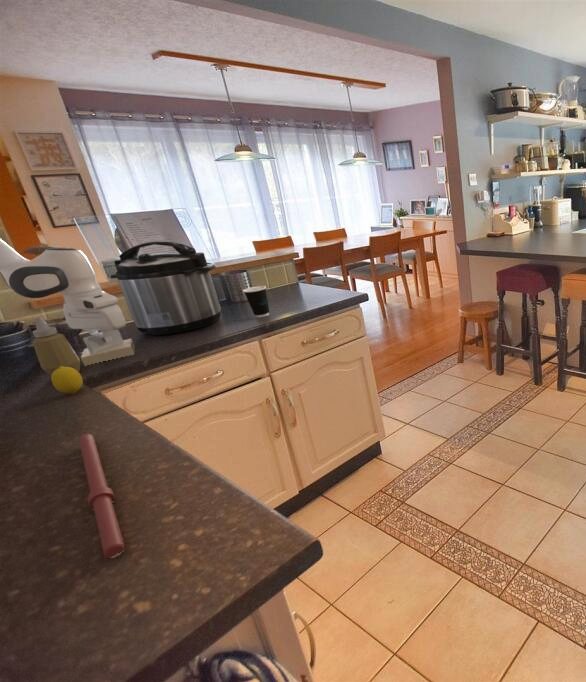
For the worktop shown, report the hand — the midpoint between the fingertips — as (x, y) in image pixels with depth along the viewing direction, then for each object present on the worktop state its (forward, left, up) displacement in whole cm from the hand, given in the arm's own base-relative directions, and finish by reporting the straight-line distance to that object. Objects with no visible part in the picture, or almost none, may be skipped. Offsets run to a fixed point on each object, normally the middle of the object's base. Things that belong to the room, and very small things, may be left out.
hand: (104, 341), depth 139 cm
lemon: (-6, -29, -5) cm, 30 cm away
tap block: (0, 0, -5) cm, 5 cm away
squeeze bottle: (-10, -9, -5) cm, 14 cm away
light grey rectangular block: (0, 0, -2) cm, 2 cm away
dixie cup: (+46, +8, -5) cm, 47 cm away
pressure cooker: (+21, +21, -5) cm, 30 cm away
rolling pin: (+3, -89, -5) cm, 89 cm away
